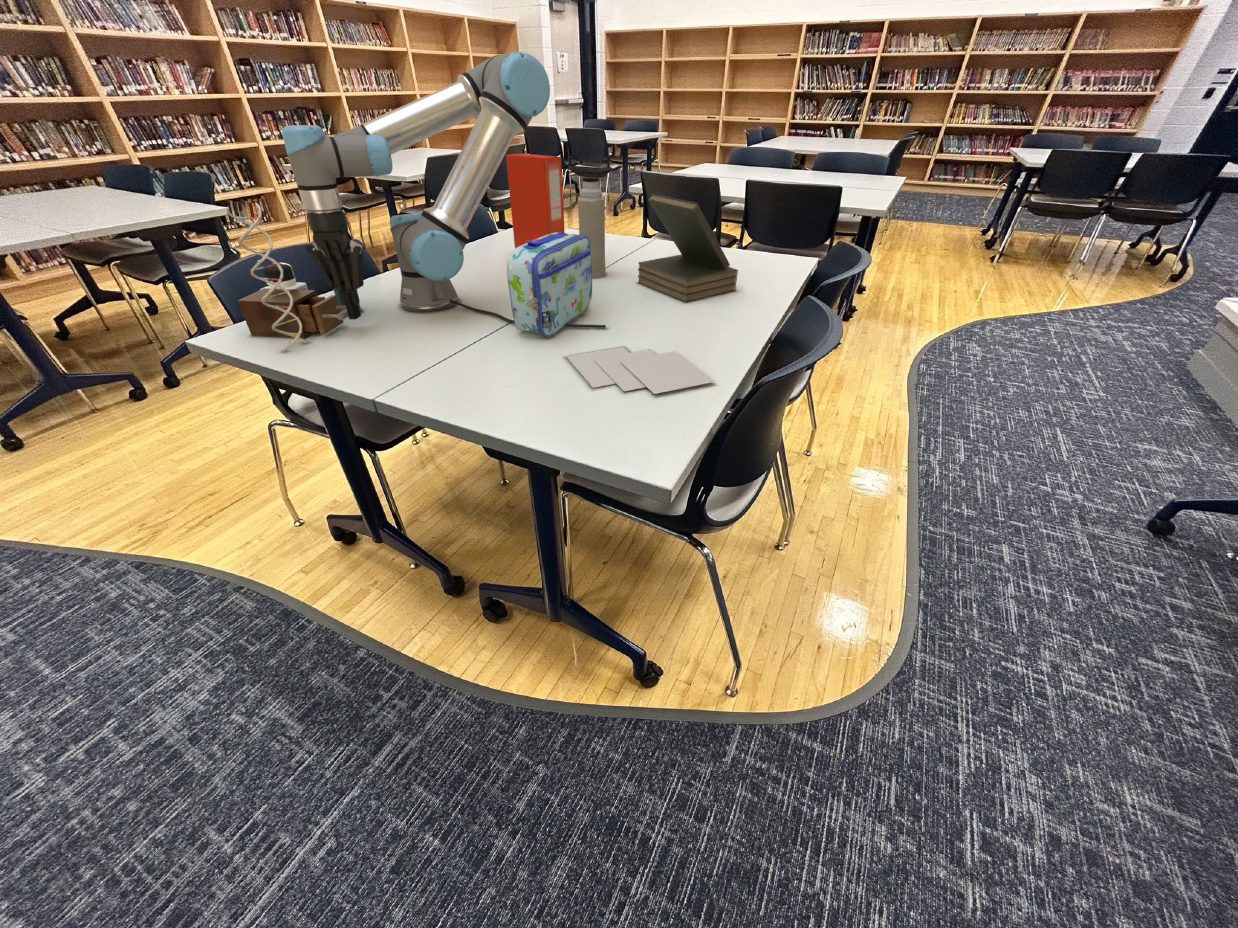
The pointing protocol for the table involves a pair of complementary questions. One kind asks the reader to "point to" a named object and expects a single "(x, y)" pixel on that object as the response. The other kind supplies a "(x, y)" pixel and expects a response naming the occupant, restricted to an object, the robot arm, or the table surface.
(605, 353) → the paper stack
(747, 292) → the table surface
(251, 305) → the cabinet
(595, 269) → the thermos bottle
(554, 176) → the file binder
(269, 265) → the dna model
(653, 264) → the book stack
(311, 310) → the drawer
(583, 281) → the lunch box
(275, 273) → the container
